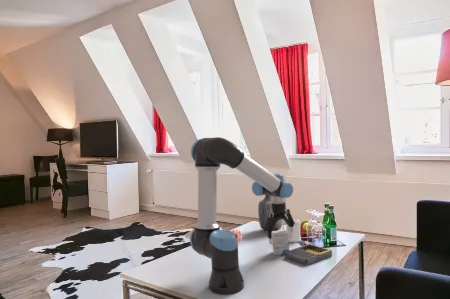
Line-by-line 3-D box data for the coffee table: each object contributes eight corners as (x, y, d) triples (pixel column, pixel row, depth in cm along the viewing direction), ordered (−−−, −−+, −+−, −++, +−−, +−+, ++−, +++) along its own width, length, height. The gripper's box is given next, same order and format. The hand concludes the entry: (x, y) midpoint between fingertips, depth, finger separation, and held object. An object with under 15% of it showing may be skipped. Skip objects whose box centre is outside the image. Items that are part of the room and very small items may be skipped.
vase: (268, 235, 219) (266, 189, 218) (254, 230, 233) (252, 186, 232) (288, 231, 227) (286, 186, 226) (273, 226, 241) (271, 183, 240)
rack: (306, 265, 166) (306, 258, 166) (284, 257, 179) (284, 251, 179) (332, 256, 177) (331, 249, 177) (309, 249, 189) (309, 243, 189)
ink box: (288, 251, 188) (287, 229, 188) (289, 254, 183) (288, 232, 183) (272, 251, 189) (271, 230, 189) (273, 254, 184) (272, 233, 184)
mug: (279, 239, 211) (278, 219, 210) (289, 236, 216) (288, 217, 216) (294, 243, 201) (293, 223, 201) (304, 239, 207) (303, 220, 206)
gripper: (265, 207, 175) (268, 248, 176) (299, 199, 189) (302, 237, 190) (255, 205, 182) (258, 245, 182) (290, 197, 195) (292, 234, 196)
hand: (280, 241), depth 186 cm, fingers open, 13 cm apart
